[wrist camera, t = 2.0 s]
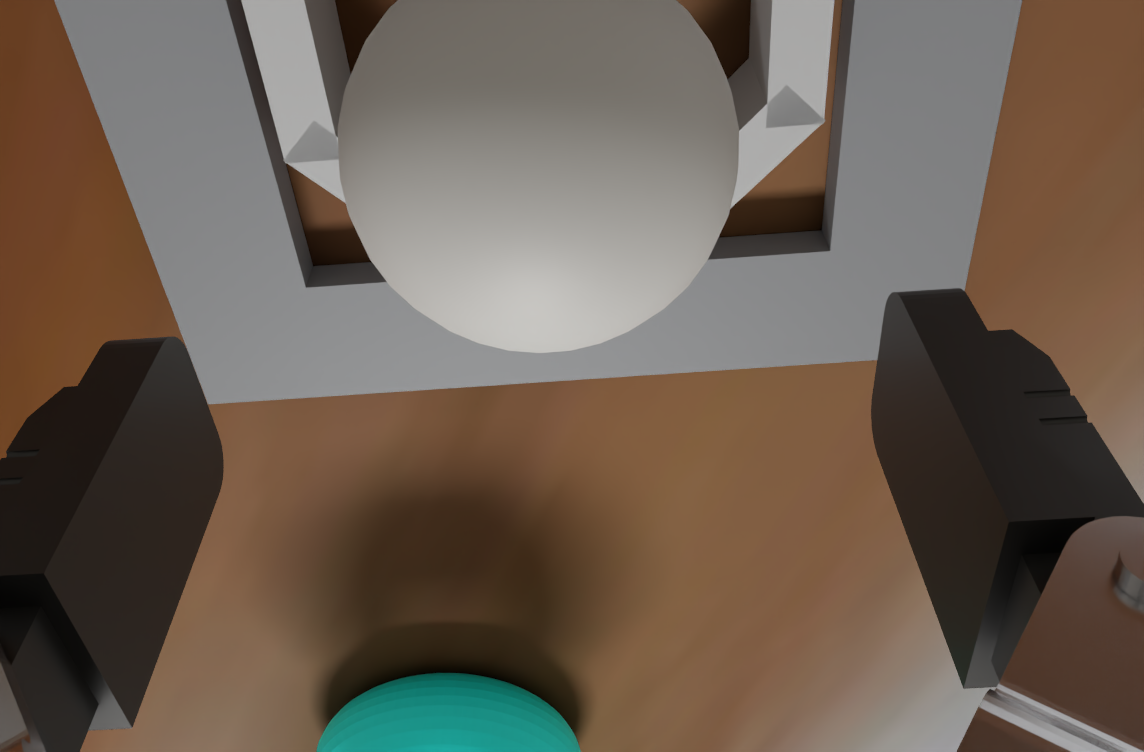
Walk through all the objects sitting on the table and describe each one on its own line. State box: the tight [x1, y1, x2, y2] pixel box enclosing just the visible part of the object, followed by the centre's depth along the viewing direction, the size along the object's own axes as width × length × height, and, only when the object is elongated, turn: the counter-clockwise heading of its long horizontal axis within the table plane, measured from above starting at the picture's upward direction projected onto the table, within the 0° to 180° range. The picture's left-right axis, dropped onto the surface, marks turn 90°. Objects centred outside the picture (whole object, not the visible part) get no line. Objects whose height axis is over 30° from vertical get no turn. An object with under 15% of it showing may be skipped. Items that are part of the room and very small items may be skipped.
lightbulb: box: [338, 0, 739, 353], centre depth 18 cm, size 6×6×11 cm
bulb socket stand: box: [54, 0, 1022, 404], centre depth 21 cm, size 20×20×2 cm
